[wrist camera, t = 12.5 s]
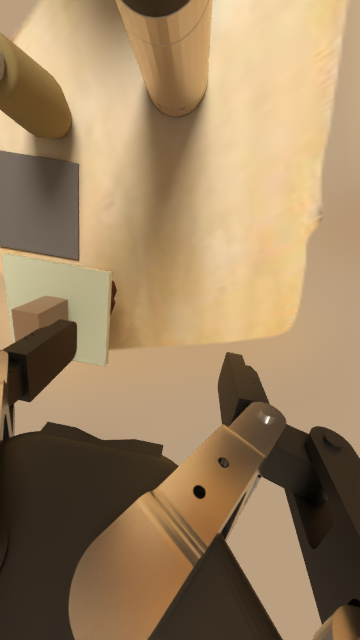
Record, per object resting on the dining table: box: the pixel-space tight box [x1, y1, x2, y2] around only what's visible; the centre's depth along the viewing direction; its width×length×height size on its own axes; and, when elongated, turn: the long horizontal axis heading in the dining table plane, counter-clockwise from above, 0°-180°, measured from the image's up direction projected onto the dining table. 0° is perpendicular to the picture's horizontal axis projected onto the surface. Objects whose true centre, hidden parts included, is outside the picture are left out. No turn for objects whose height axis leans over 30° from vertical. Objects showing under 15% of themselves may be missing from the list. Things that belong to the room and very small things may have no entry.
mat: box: [0, 151, 79, 260], centre depth 42 cm, size 16×16×1 cm
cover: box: [1, 253, 112, 366], centre depth 29 cm, size 14×14×7 cm
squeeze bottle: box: [0, 33, 71, 138], centre depth 28 cm, size 8×8×18 cm
